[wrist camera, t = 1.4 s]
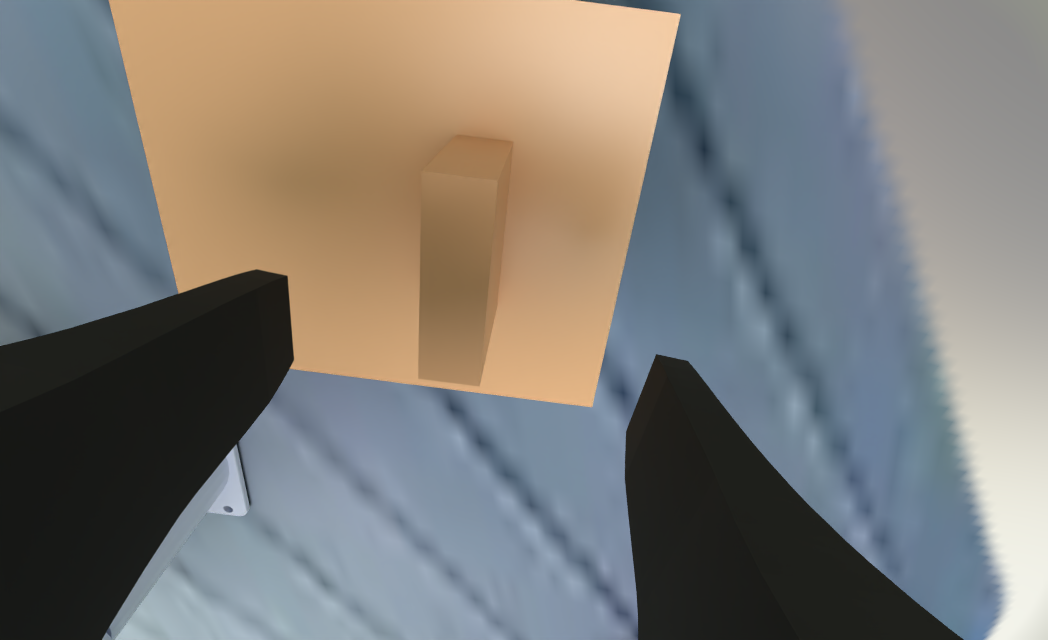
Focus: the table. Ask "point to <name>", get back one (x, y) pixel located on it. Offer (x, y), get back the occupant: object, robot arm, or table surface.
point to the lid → (408, 173)
